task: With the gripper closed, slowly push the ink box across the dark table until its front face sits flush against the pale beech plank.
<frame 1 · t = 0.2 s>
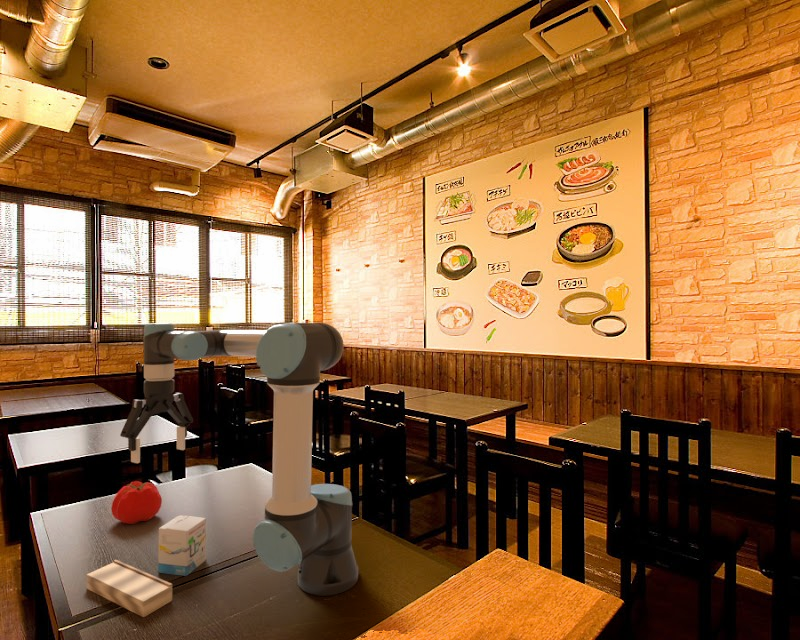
hand: (159, 455, 131), 27 cm above the table, fingers open, 13 cm apart
ink box: (182, 566, 125), on the table
plank: (128, 594, 112), on the table
tomato: (137, 520, 152), on the table
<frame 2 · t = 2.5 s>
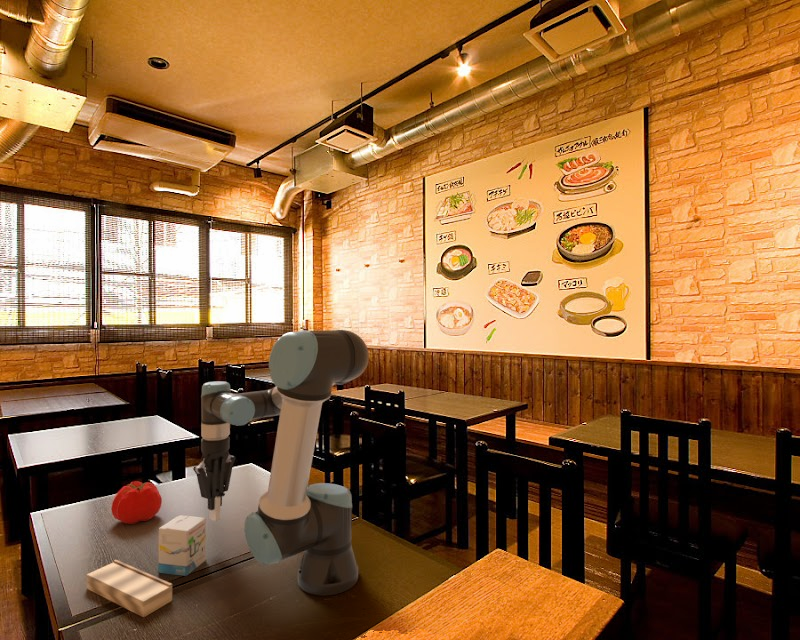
hand: (214, 519, 134), 8 cm above the table, fingers closed
nothing on the table moved.
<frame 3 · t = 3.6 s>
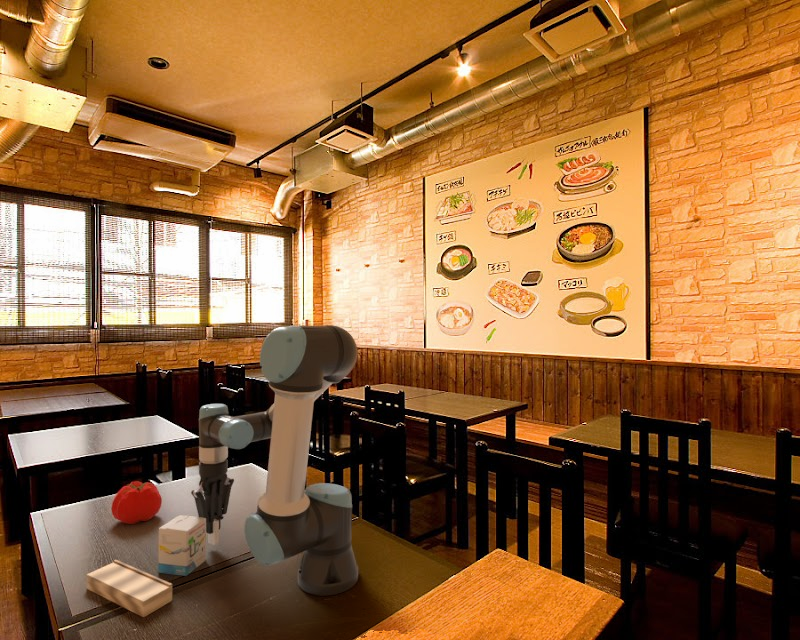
hand: (213, 542, 133), 2 cm above the table, fingers closed
nothing on the table moved.
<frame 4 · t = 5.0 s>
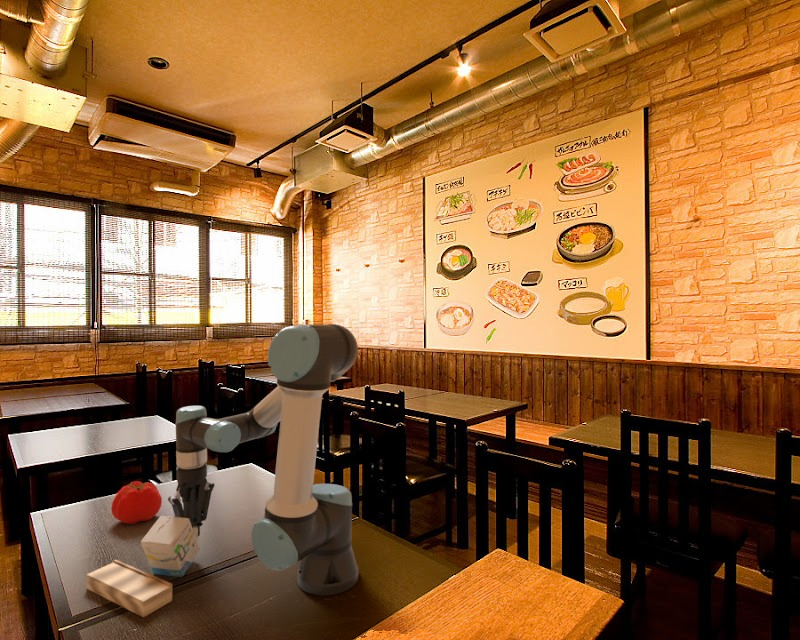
hand: (192, 550, 128), 2 cm above the table, fingers closed
ink box: (177, 561, 124), point 2 cm above the table, touching gripper, hand
everything else where it was.
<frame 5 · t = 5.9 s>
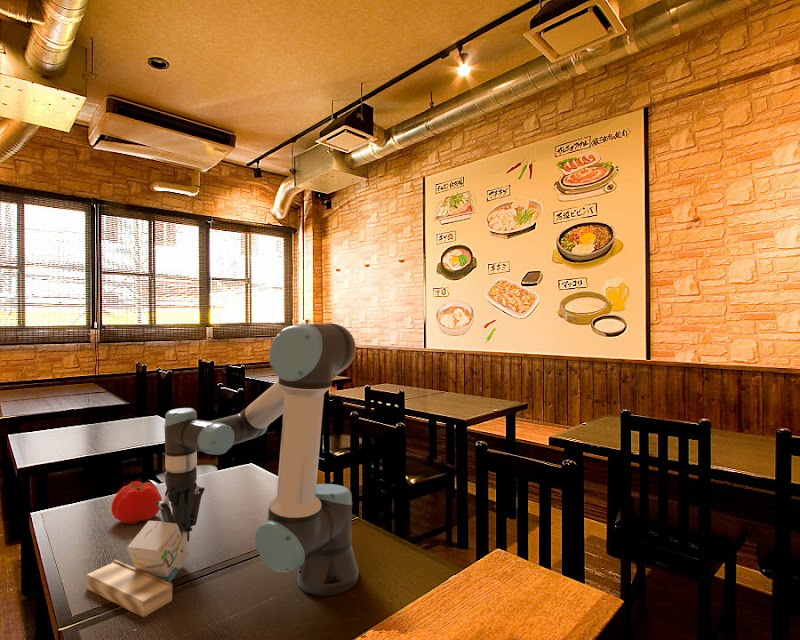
hand: (181, 555, 125), 2 cm above the table, fingers closed
ink box: (166, 567, 121), point 2 cm above the table, touching gripper, hand, plank
everything else where it was.
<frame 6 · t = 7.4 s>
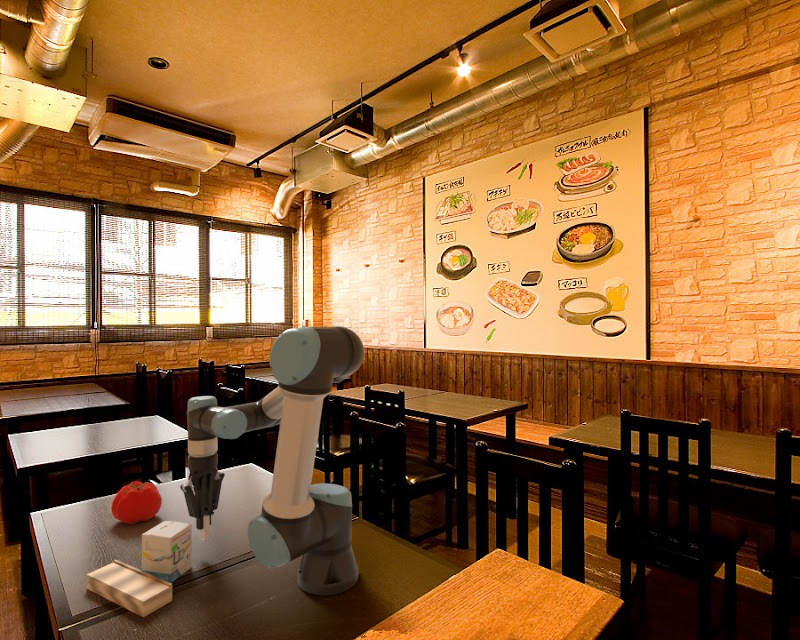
hand: (204, 539, 130), 5 cm above the table, fingers closed
ink box: (167, 574, 121), on the table
everything else where it was.
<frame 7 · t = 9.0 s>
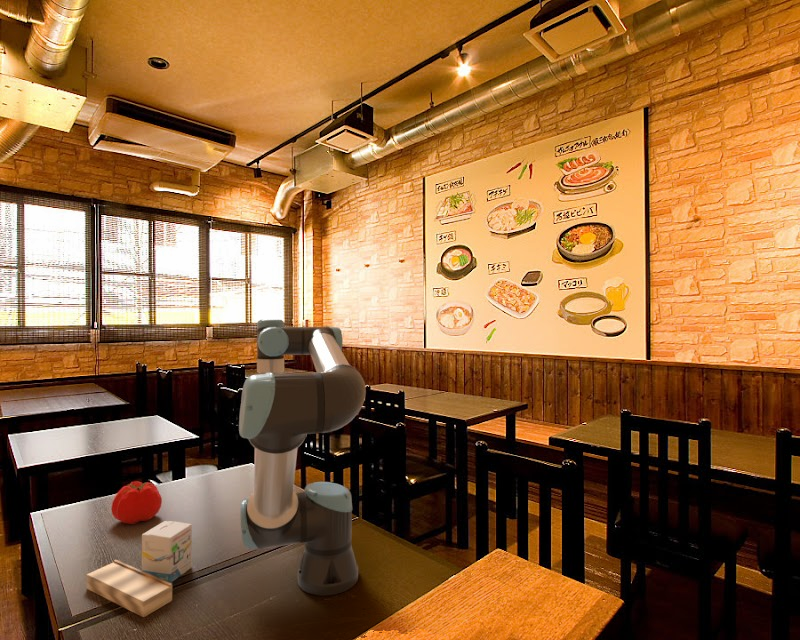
hand: (270, 455, 135), 26 cm above the table, fingers closed
nothing on the table moved.
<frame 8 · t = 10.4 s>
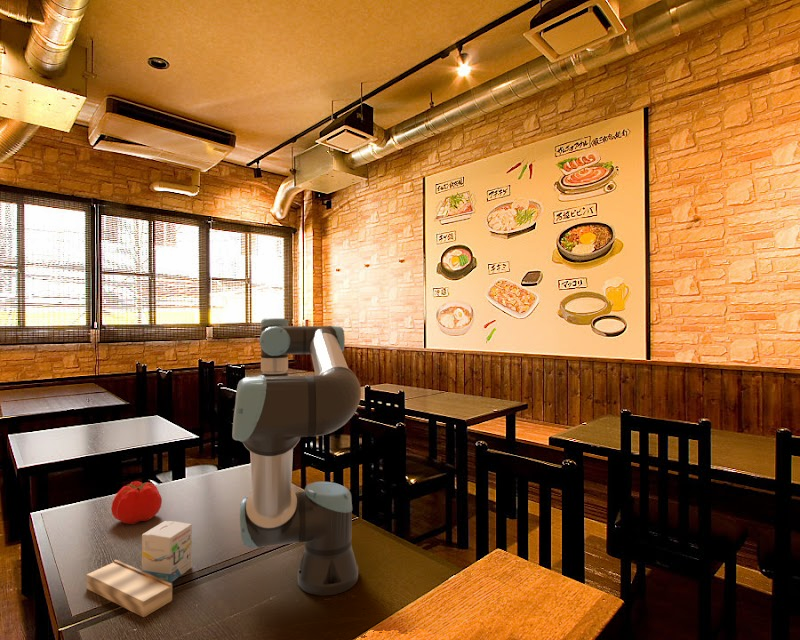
hand: (274, 454, 136), 26 cm above the table, fingers closed
nothing on the table moved.
at the end: ink box inside the target area on the table beside the plank (1.6 cm from its centre), on the table; ink box tilted 0° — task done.
